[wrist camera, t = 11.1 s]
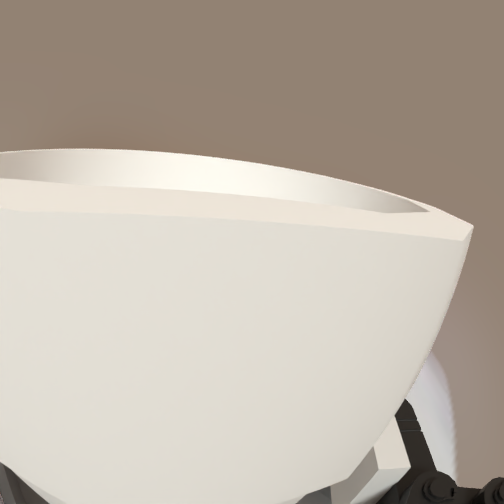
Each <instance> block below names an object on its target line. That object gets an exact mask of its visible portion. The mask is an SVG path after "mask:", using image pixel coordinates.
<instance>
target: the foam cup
mask: <svg viewBox="0 0 504 504" xmlns="http://www.w3.org/2000/svg"><path fill="white" fill-rule="evenodd" d="M473 227H474V225H471V224H469V223H467V222H465V221H463V220H461V219H459V218H457V217H455V216H453V215H450V214H448V213H446V212H444V211H442V210H439V209H437V208H435V207H433V206H430V205H427V204H424V203H421V202H418V201H415V200H412V199H408V198H406V197H402V196H399V195H396V194H392V193H389V192H386V191H383V190H380V189H375V188H372V187H368V186H364V185H360V184H356V183H352V182H348V181H344V180H340V179H336V178H331V177H327V176H322V175H317V174H313V173H308V172H303V171H298V170H293V169H287V168H282V167H276V166H271V165H265V164H259V163H252V162H245V161H238V160H231V159H223V158H215V157H207V156H199V155H189V154H178V153H167V152H153V151H138V150H116V149H47V150H46V149H45V150H25V151H10V152H0V462H1V463H3V464H4V465H5V466H7V467H8V468H10V469H11V470H12V471H13V472H14V473H15V474H16V475H17V476H19V477H20V478H21V479H22V480H23V481H24V482H25V483H26V484H27V485H28V486H29V487H31V488H32V489H33V490H34V491H35V492H36V493H37V494H39V495H40V496H41V497H42V498H43V499H45V500H46V501H47V502H48V503H50V504H296V503H297V502H298V501H299V500H300V499H302V498H303V497H304V496H305V495H306V494H308V493H311V492H314V491H317V490H320V489H322V488H325V487H328V486H330V485H333V484H335V483H338V482H340V481H343V480H345V479H347V478H348V477H349V476H350V475H351V474H352V473H353V471H354V470H355V469H356V468H357V466H358V465H359V464H360V463H361V461H362V460H363V459H364V457H365V456H366V455H367V454H368V452H369V451H370V450H371V448H372V447H373V446H374V444H375V443H376V441H377V440H378V439H379V437H380V436H381V434H382V433H383V432H384V430H385V429H386V427H387V426H388V424H389V423H390V421H391V420H392V418H393V417H394V415H395V414H396V412H397V411H398V409H399V407H400V406H401V404H402V403H403V401H404V399H405V398H406V396H407V394H408V393H409V391H410V389H411V388H412V386H413V384H414V383H415V381H416V379H417V377H418V375H419V373H420V371H421V369H422V367H423V365H424V363H425V361H426V359H427V356H428V354H429V352H430V350H431V348H432V346H433V343H434V341H435V339H436V336H437V334H438V332H439V329H440V327H441V325H442V322H443V320H444V317H445V315H446V312H447V310H448V307H449V304H450V302H451V299H452V296H453V294H454V291H455V288H456V285H457V282H458V279H459V276H460V273H461V270H462V266H463V263H464V260H465V257H466V253H467V250H468V246H469V243H470V238H471V235H472V231H473Z"/></svg>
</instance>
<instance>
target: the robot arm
mask: <svg viewBox="0 0 504 504" xmlns="http://www.w3.org/2000/svg"><path fill="white" fill-rule="evenodd" d="M330 486H331V501H332V504H504V478H501V477H498V478H495V479H492V480H491V481H490V482H489V483H488V484H487V485H486V486H485V487H483V489H475V488H463V487H457V485H456V483H455V481H454V480H453V479H452V478H451V477H450V476H449V475H447V474H445V473H442V472H439V471H437V470H436V467H435V465H434V462H433V459H432V456H431V454H430V451H429V448H428V445H427V443H426V440H425V438H424V435H423V432H421V427H420V425H419V422H418V421H417V417H416V415H415V412H414V410H413V408H412V406H411V405H410V403H409V402H408V401H407V400H406V399H404V401H403V403H402V404H401V406H400V407H399V409H398V411H397V412H396V414H395V415H394V417H393V418H392V420H391V421H390V423H389V424H388V426H387V427H386V429H385V430H384V432H383V433H382V434H381V436H380V437H379V439H378V440H377V441H376V443H375V444H374V446H373V447H372V448H371V450H370V451H369V452H368V454H367V455H366V456H365V457H364V459H363V460H362V461H361V463H360V464H359V465H358V466H357V468H356V469H355V470H354V471H353V473H352V474H351V475H350V476H349V477H348V478H347V479H345V480H343V481H340V482H338V483H335V484H333V485H330Z"/></svg>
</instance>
